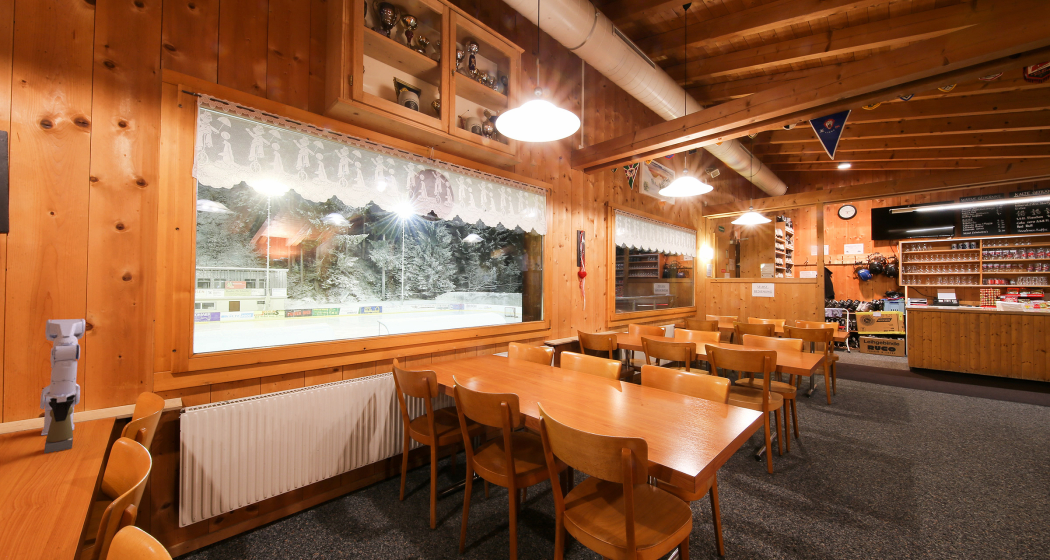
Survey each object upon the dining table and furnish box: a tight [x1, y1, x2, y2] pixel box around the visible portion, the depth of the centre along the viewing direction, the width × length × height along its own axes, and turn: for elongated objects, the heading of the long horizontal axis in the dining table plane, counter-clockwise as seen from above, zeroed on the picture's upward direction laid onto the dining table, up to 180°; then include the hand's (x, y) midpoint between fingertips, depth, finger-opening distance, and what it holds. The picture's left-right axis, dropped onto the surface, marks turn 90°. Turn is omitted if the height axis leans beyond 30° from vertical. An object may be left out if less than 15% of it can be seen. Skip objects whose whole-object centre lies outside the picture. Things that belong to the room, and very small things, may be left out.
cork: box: [45, 406, 74, 443], centre depth 131 cm, size 6×6×11 cm
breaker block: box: [43, 436, 74, 455], centre depth 131 cm, size 6×6×3 cm
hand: (60, 419), depth 132 cm, fingers closed on cork, 5 cm apart
